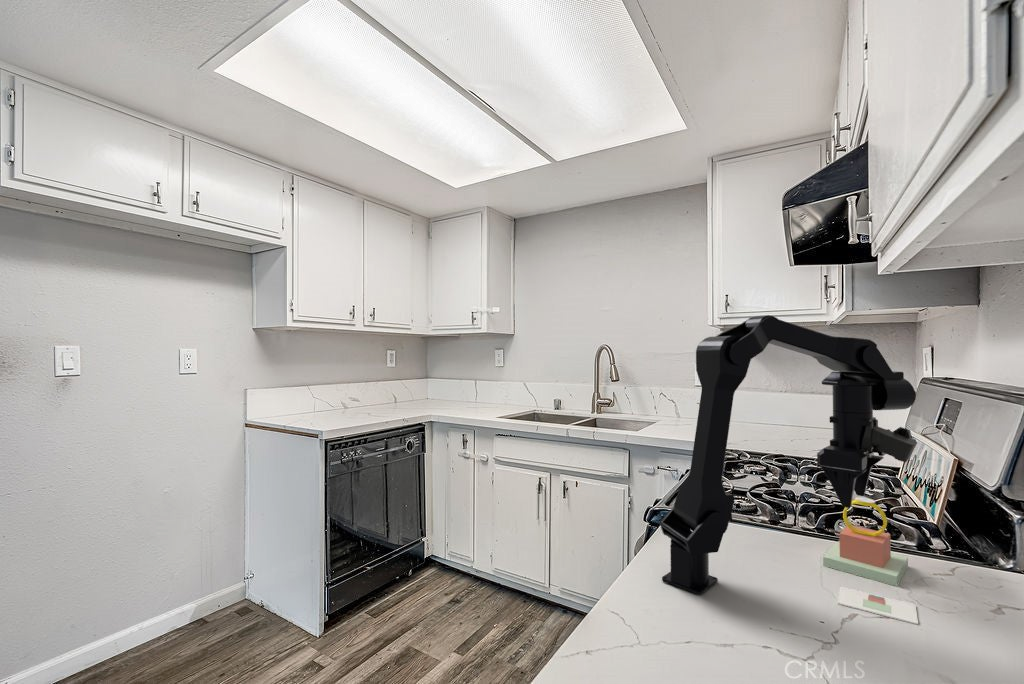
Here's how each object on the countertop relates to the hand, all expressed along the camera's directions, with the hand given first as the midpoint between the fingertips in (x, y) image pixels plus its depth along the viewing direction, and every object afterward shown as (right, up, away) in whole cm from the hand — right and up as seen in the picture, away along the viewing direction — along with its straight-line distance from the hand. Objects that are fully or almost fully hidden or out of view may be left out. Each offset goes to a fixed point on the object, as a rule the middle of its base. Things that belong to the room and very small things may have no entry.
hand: (853, 501), depth 84 cm
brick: (+1, -9, -1) cm, 9 cm away
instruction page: (-6, -11, -14) cm, 19 cm away
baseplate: (+1, -11, -1) cm, 11 cm away
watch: (+1, -5, -1) cm, 6 cm away
